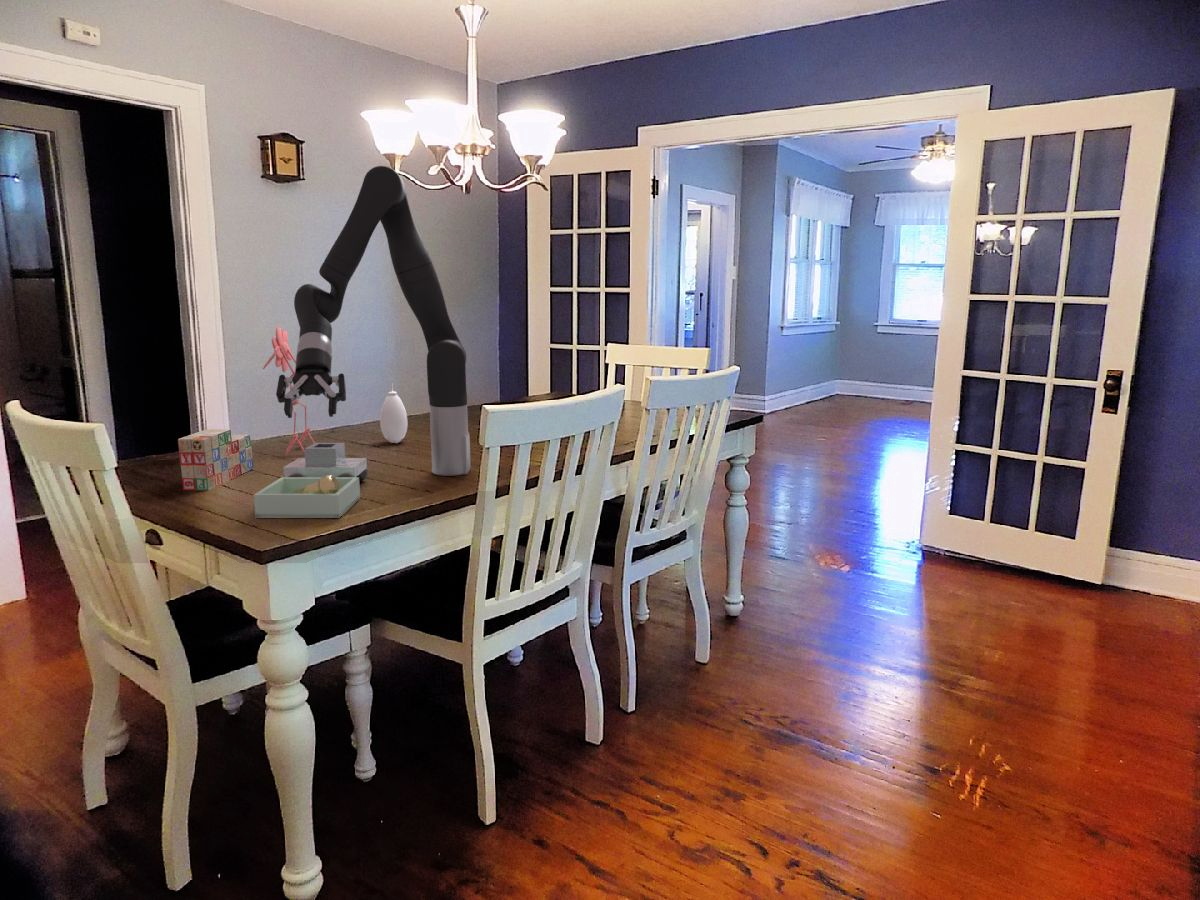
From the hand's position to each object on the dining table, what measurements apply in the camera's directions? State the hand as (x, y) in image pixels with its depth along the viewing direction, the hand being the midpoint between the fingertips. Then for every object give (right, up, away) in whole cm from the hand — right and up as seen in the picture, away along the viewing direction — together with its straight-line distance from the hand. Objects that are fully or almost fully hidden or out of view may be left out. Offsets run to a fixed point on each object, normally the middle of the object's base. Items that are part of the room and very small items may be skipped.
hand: (310, 415), depth 175 cm
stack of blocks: (-30, -15, +22) cm, 40 cm away
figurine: (-26, -8, +54) cm, 60 cm away
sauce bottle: (+1, -6, +67) cm, 67 cm away
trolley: (-1, -16, +14) cm, 22 cm away
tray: (+1, -20, -3) cm, 20 cm away
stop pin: (-1, -17, -3) cm, 18 cm away
